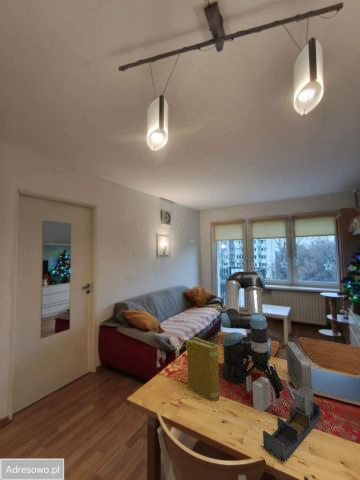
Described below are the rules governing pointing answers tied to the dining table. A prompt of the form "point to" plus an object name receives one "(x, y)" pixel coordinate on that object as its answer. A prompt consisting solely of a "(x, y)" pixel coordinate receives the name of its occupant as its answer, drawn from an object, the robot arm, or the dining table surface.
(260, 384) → the block
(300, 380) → the network device
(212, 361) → the book
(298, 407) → the rack
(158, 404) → the dining table surface
